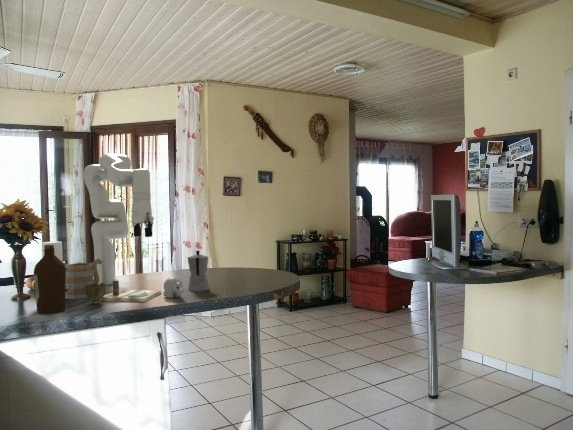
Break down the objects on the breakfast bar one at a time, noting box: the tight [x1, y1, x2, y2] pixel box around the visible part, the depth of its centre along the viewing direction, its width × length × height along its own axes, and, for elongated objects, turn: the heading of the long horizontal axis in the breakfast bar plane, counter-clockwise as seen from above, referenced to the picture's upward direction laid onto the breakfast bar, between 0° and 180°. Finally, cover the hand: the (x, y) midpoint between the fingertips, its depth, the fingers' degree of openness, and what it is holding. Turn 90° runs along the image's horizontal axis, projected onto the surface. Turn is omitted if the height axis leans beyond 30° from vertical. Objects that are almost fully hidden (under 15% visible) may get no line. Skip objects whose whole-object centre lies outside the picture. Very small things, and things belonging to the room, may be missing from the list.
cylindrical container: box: [41, 241, 64, 263], centre depth 178 cm, size 7×7×25 cm
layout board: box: [100, 279, 162, 303], centre depth 189 cm, size 20×16×8 cm
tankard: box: [65, 259, 102, 300], centre depth 197 cm, size 20×13×15 cm, turn 160°
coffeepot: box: [186, 249, 210, 293], centre depth 202 cm, size 15×9×18 cm, turn 10°
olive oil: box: [33, 245, 67, 315], centre depth 166 cm, size 11×11×25 cm
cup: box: [85, 283, 106, 305], centre depth 178 cm, size 8×7×8 cm
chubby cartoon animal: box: [163, 276, 185, 299], centre depth 186 cm, size 7×12×8 cm, turn 40°
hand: (142, 236), depth 195 cm, fingers open, 9 cm apart
